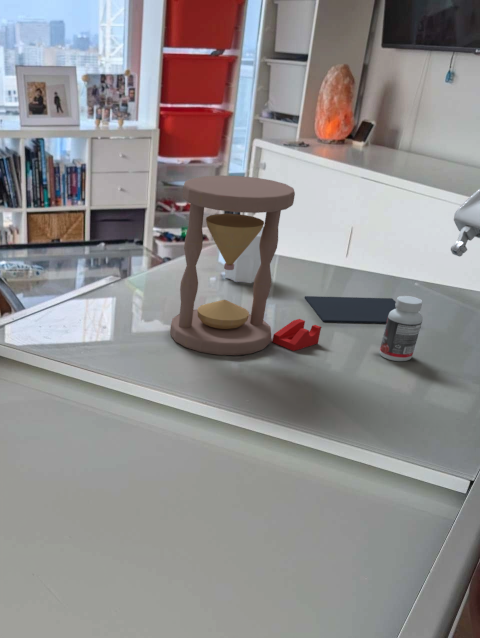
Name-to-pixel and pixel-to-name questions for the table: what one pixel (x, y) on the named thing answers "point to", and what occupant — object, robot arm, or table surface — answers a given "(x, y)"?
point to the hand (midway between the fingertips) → (475, 260)
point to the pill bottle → (402, 329)
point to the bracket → (297, 335)
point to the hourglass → (229, 261)
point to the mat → (352, 309)
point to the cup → (246, 263)
